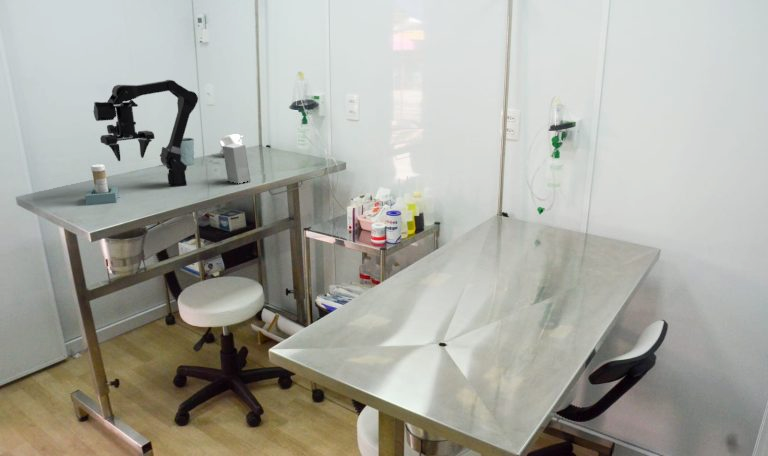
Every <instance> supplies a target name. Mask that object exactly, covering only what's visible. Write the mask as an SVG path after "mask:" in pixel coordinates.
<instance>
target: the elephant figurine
mask: <svg viewBox="0 0 768 456" xmlns="http://www.w3.org/2000/svg"><path fill="white" fill-rule="evenodd" d="M243 138H244V135H241V134H238V133H233V134H227V135H225V136H223V137H222V138H220V140H219V145H220V148H221V149H220V151H219V154H223V156H224V152H223V146H225V145H230V144H240V145H243Z"/></svg>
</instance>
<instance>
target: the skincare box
mask: <svg viewBox="0 0 768 456" xmlns="http://www.w3.org/2000/svg"><path fill="white" fill-rule="evenodd" d="M223 152H224V155H223V158H224V162H225V163H224V164H225V169H226V170H225V171H226V178H227V182H228V181H230V182H229V183H232V182H234V184H237V183H238V184H237V185H240V184H239V183H241V184H243V182H245V183H248V182H247V181H250V182H252V181H251V174H250V169H249V161H248V155H247V153H248V152H247V147H246V145H245V144H242V145H240V144H230V145H225V146H223ZM223 152H222V153H223Z"/></svg>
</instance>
